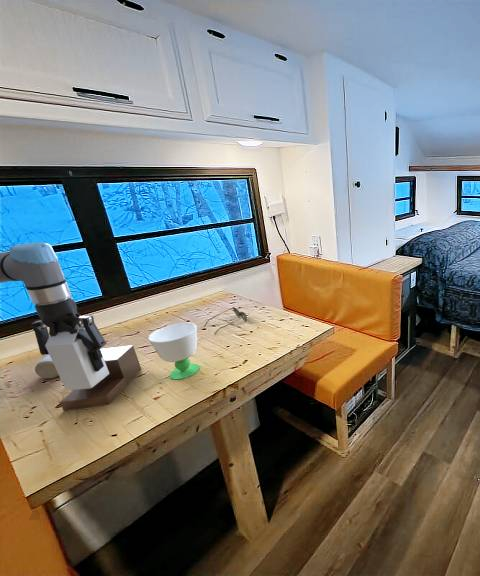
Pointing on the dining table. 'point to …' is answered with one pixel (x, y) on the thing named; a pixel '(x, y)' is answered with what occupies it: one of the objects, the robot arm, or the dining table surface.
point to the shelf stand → (107, 379)
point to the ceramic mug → (46, 368)
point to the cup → (177, 347)
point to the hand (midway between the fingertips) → (84, 370)
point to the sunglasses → (236, 315)
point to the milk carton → (74, 361)
